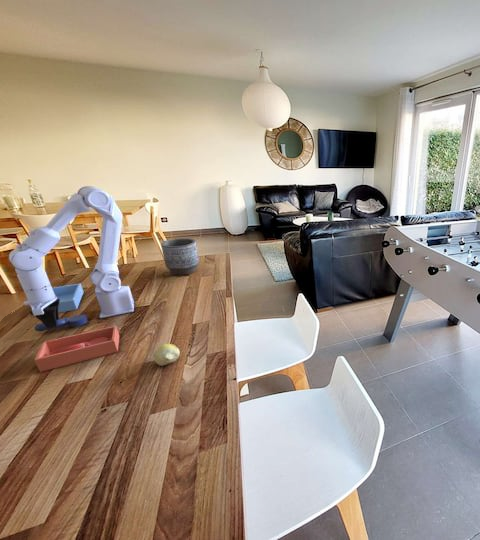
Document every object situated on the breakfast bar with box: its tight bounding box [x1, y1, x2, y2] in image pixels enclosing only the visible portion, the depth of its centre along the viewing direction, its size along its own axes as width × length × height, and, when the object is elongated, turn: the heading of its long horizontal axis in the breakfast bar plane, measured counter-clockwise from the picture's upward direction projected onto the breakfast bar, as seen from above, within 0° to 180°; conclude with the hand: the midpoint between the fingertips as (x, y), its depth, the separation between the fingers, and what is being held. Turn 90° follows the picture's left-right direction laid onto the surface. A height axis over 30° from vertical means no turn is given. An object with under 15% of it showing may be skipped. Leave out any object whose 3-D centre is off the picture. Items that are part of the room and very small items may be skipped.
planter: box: [160, 237, 200, 276], centre depth 138 cm, size 14×14×15 cm
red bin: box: [34, 325, 120, 373], centre depth 83 cm, size 16×9×4 cm, turn 125°
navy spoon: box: [33, 314, 88, 332], centre depth 94 cm, size 12×4×3 cm, turn 125°
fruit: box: [153, 343, 181, 366], centre depth 82 cm, size 6×6×10 cm
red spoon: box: [51, 337, 108, 355], centre depth 83 cm, size 12×4×3 cm, turn 125°
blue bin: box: [52, 283, 84, 314], centre depth 108 cm, size 16×9×4 cm, turn 35°
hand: (53, 324), depth 93 cm, fingers closed on navy spoon, 2 cm apart
